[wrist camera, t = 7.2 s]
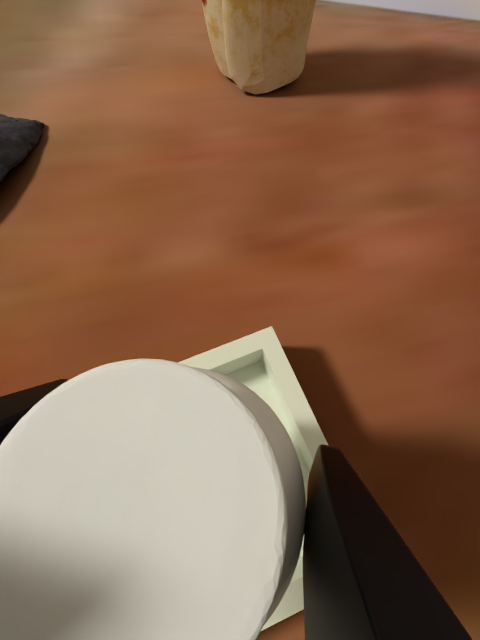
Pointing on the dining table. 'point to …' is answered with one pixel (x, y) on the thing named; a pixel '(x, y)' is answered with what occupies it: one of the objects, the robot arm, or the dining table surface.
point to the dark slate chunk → (16, 141)
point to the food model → (259, 40)
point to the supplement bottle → (147, 509)
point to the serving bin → (288, 404)
